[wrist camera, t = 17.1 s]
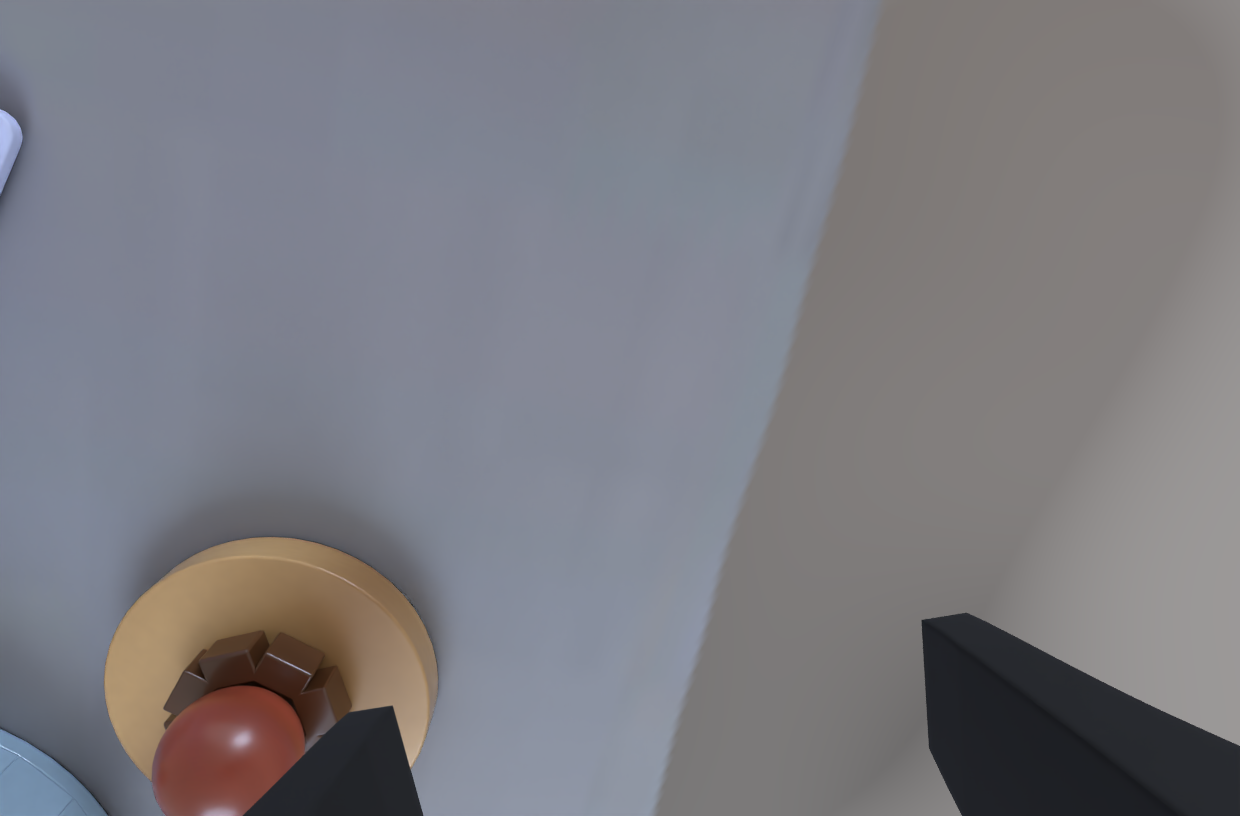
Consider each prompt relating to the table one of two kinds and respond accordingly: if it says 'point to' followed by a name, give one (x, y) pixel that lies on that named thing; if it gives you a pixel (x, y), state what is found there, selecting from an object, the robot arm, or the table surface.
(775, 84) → the table surface
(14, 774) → the light blue bowl
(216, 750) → the ball
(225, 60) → the table surface
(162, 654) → the holder
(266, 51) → the table surface
